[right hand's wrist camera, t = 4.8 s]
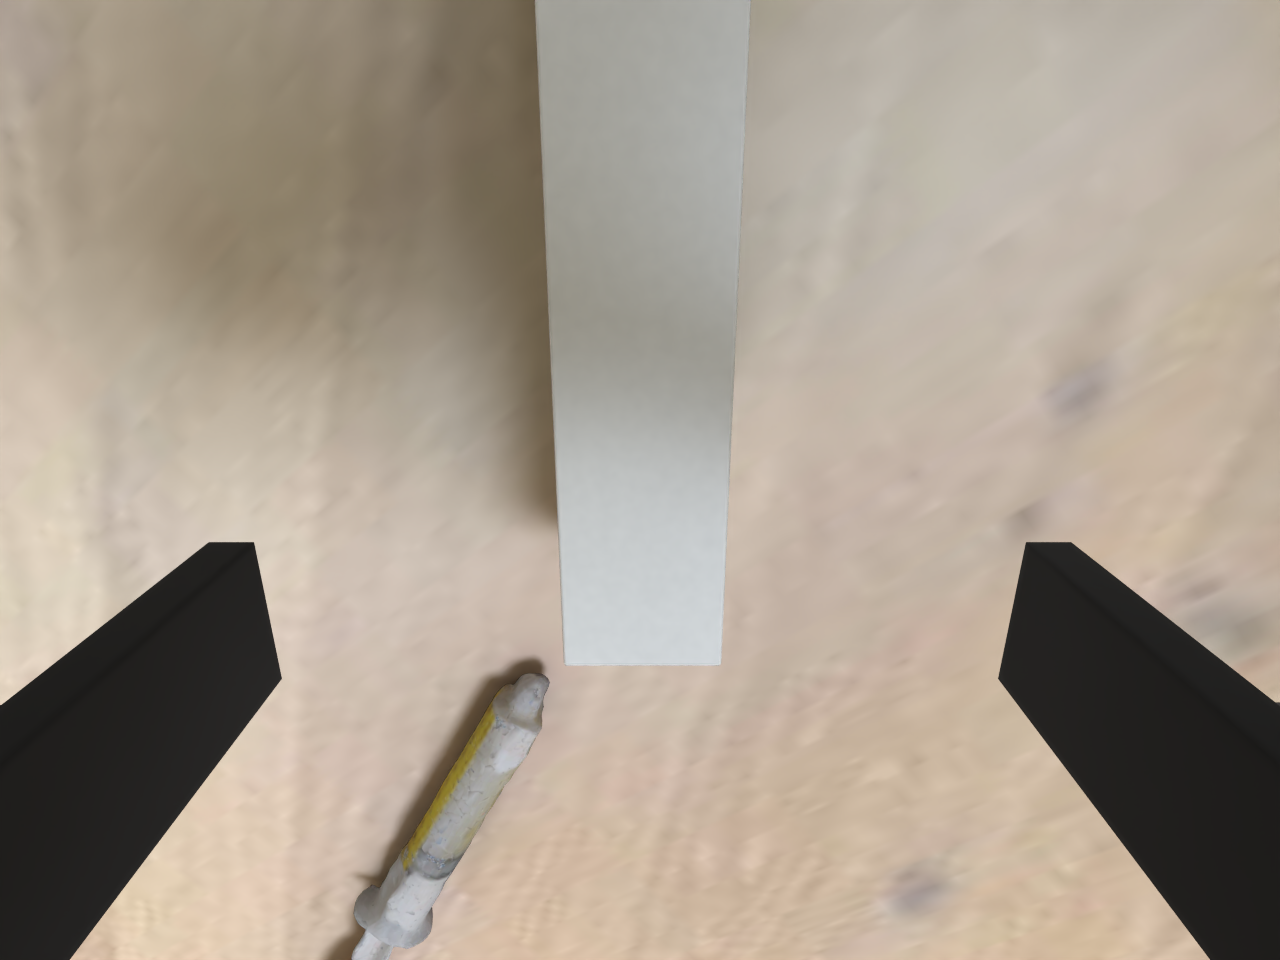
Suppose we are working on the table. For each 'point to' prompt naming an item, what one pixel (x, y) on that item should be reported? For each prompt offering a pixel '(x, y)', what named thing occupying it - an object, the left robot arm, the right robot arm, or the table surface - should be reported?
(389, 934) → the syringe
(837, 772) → the table surface
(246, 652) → the right robot arm
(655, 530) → the bar
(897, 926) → the table surface
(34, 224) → the table surface
